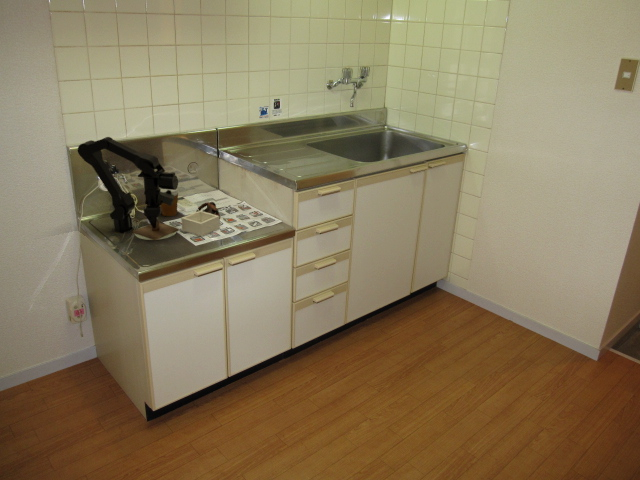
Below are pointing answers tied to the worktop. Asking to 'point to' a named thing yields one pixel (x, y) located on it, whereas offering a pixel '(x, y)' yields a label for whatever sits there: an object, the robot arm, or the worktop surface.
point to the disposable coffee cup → (168, 209)
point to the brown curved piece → (209, 208)
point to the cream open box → (200, 223)
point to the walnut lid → (155, 231)
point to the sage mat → (157, 239)
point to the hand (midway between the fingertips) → (155, 223)
